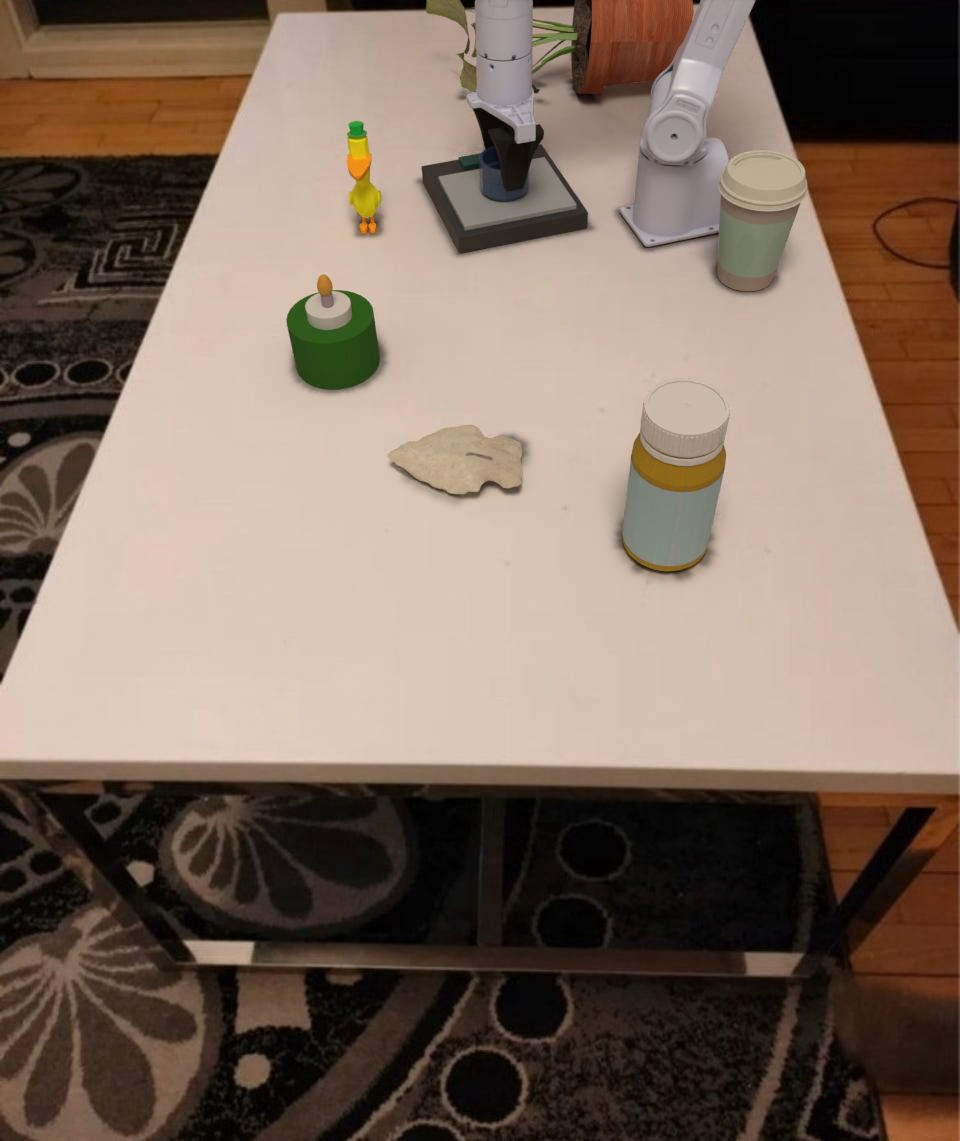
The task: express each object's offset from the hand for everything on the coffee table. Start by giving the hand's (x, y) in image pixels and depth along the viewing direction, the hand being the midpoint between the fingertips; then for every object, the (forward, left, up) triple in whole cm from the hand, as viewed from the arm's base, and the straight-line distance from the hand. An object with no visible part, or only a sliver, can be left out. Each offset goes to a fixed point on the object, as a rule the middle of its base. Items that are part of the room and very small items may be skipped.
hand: (505, 174), depth 113 cm
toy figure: (+16, -1, -5) cm, 17 cm away
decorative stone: (+17, +39, -5) cm, 42 cm away
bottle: (+3, +53, -5) cm, 53 cm away
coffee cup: (-20, +21, -5) cm, 29 cm away
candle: (+24, +21, -5) cm, 32 cm away
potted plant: (-14, -25, -5) cm, 29 cm away
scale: (0, -1, -4) cm, 5 cm away
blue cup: (0, 0, -2) cm, 2 cm away
